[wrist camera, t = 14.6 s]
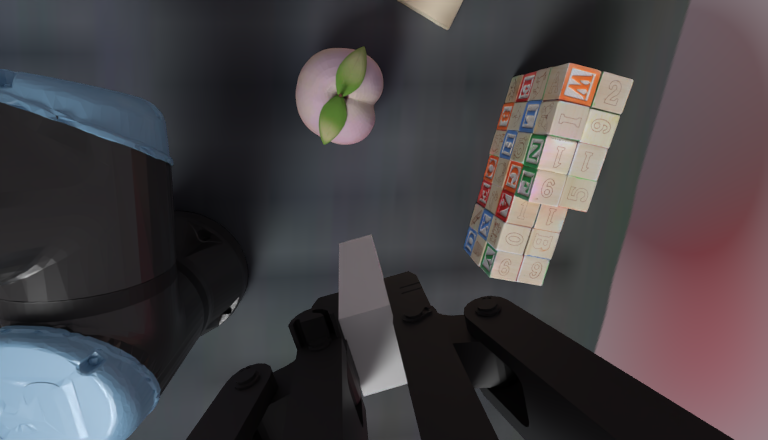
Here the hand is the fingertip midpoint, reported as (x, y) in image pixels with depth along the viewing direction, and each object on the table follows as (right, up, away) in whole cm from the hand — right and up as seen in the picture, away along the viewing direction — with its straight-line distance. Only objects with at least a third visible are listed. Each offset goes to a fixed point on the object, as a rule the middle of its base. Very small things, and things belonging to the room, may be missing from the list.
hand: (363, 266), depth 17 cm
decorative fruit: (-4, +16, +26) cm, 30 cm away
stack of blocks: (+16, +8, +30) cm, 35 cm away
